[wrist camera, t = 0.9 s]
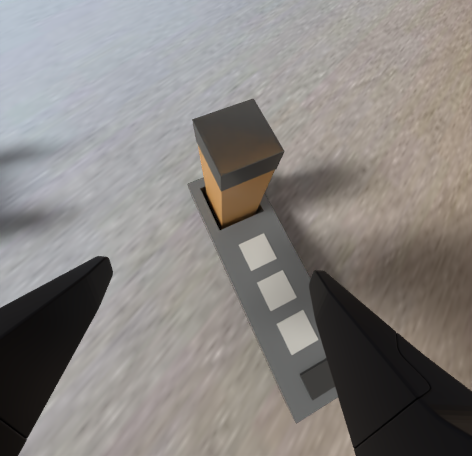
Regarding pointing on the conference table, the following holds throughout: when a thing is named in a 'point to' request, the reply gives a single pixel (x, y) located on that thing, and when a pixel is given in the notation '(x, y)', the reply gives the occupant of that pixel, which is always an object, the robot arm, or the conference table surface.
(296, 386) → the power strip
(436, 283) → the conference table surface
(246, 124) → the plug
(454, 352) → the conference table surface
